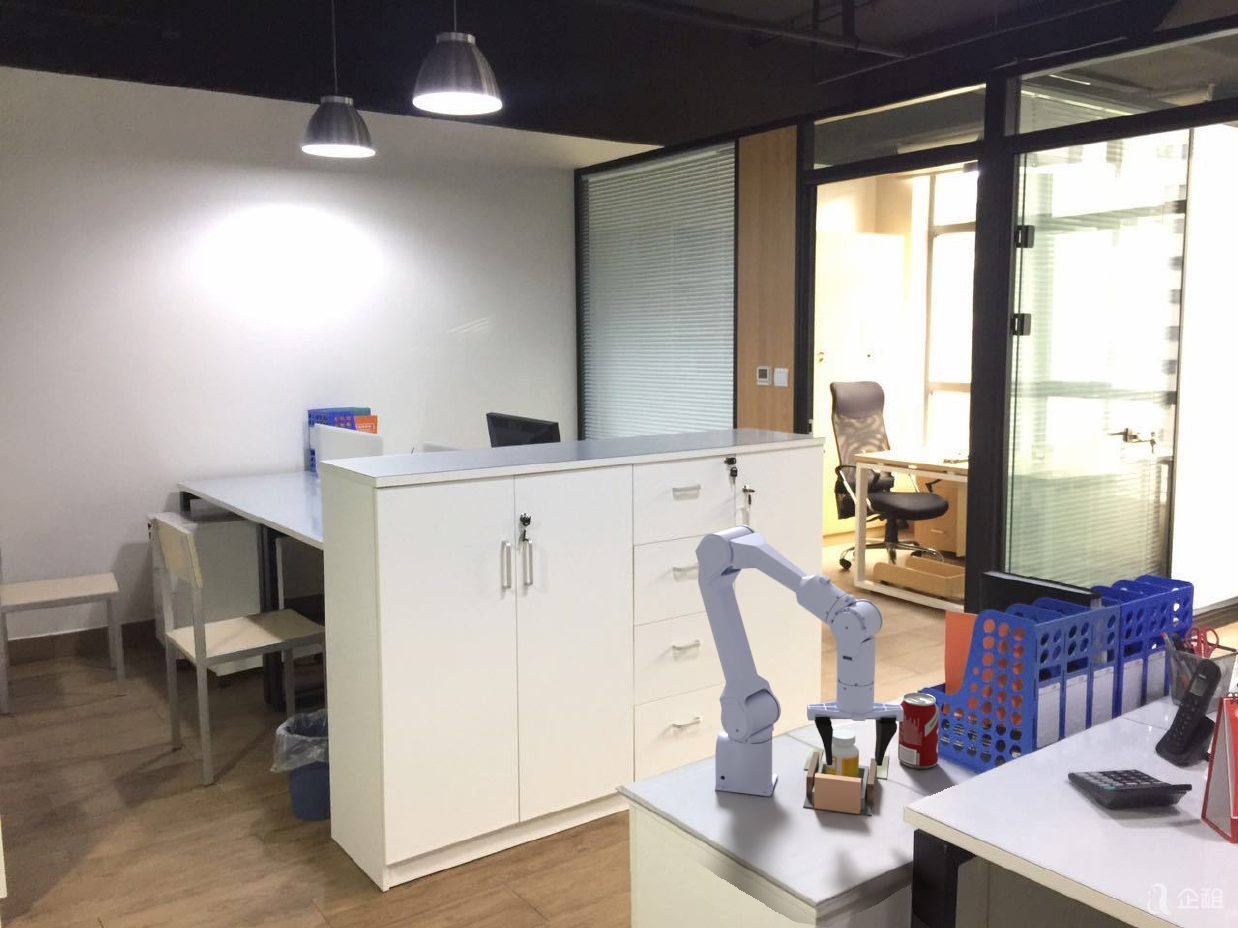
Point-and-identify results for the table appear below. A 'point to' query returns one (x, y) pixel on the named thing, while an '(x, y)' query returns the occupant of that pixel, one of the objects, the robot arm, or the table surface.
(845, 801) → the box
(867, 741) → the table surface
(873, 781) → the track
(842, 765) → the supplement bottle
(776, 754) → the table surface
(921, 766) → the soda can
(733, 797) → the table surface
